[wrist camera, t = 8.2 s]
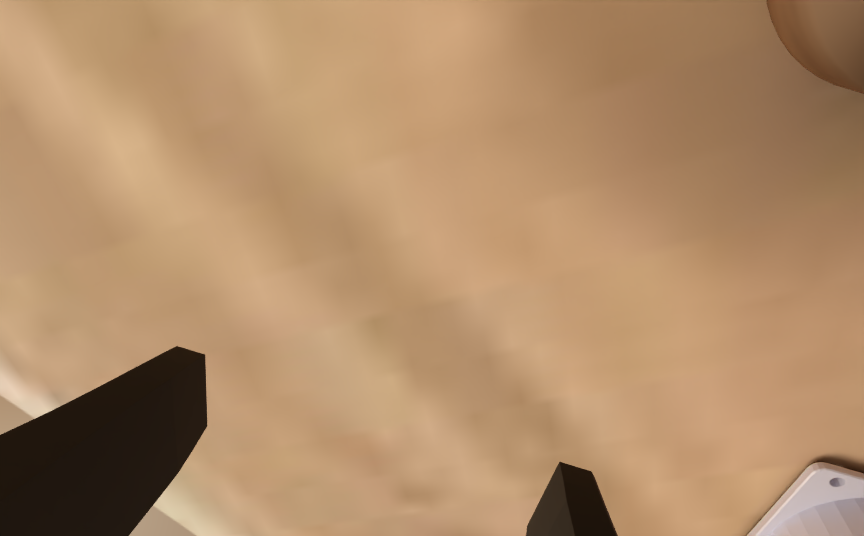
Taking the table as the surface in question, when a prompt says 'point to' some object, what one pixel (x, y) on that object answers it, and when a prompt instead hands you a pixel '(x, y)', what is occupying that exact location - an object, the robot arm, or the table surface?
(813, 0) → the pedestal
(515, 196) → the table surface
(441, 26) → the table surface
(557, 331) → the table surface
